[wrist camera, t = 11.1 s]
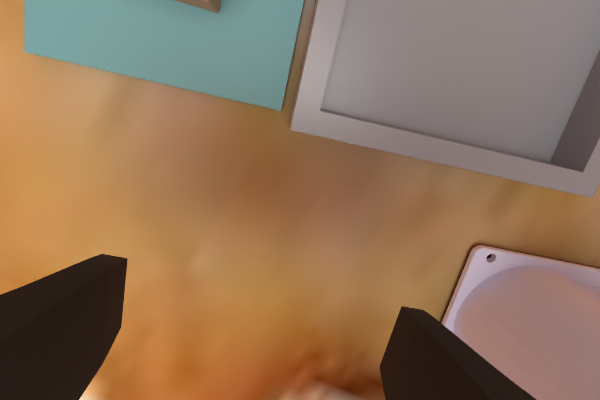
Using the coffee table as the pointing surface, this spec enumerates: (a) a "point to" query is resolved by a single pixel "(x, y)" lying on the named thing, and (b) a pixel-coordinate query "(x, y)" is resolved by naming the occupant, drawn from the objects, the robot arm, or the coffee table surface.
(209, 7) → the maple block
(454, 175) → the coffee table surface
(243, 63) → the teal board
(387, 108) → the parts bin
